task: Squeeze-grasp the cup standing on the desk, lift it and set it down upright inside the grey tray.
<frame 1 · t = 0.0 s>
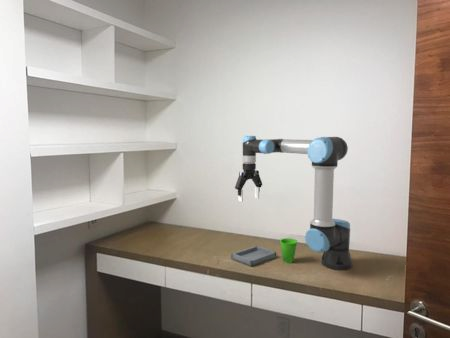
hand: (248, 199, 206), 28 cm above the worktop, fingers open, 13 cm apart
cup: (288, 261, 186), on the worktop
grey tray: (253, 258, 191), on the worktop
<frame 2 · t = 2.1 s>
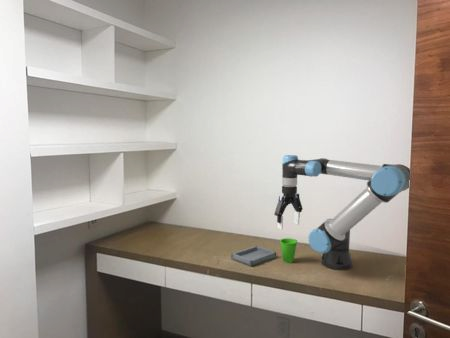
hand: (288, 226, 184), 19 cm above the worktop, fingers open, 13 cm apart
nothing on the worktop moved.
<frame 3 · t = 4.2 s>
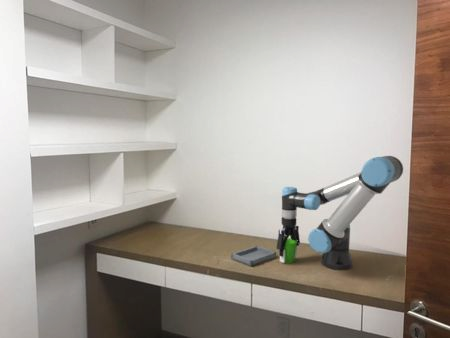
hand: (288, 259, 186), 1 cm above the worktop, fingers closed on cup, 9 cm apart
cup: (288, 261, 186), on the worktop, touching gripper
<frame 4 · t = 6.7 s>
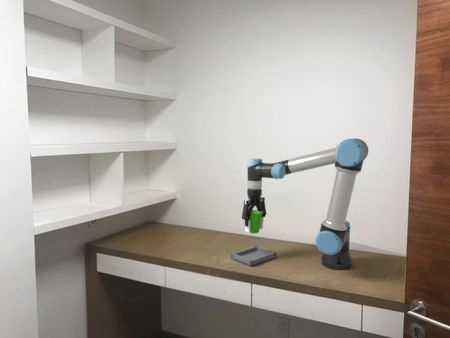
hand: (254, 230, 189), 15 cm above the worktop, fingers closed on cup, 9 cm apart
cup: (254, 232, 189), point 14 cm above the worktop, touching gripper
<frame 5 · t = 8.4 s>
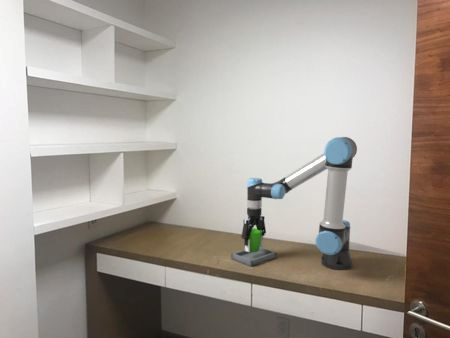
hand: (253, 249, 190), 5 cm above the worktop, fingers closed on cup, 9 cm apart
cup: (253, 251, 190), point 4 cm above the worktop, touching gripper
when the fingers open (3 cm above the worktop, at t = 9.4 s): cup stays where it is, resting on grey tray.
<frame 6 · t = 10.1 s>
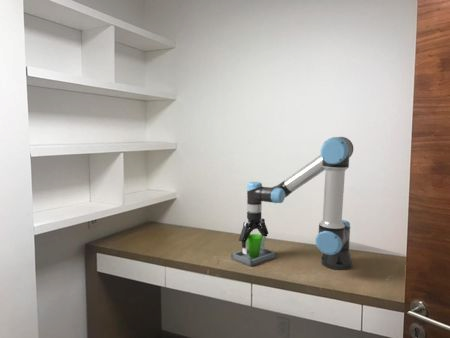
hand: (253, 250, 190), 4 cm above the worktop, fingers open, 13 cm apart
cup: (254, 256, 191), point 1 cm above the worktop, touching grey tray
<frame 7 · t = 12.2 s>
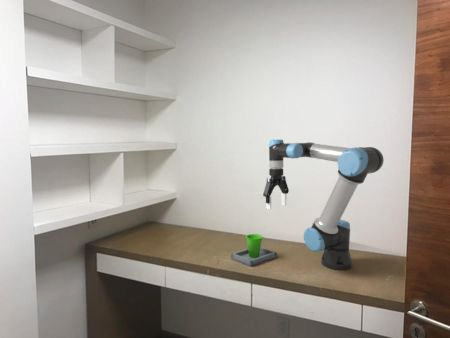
hand: (276, 207, 195), 26 cm above the worktop, fingers open, 13 cm apart
nothing on the worktop moved.
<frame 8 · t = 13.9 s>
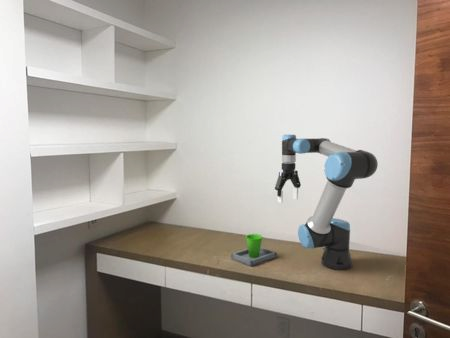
hand: (287, 200, 200), 29 cm above the worktop, fingers open, 13 cm apart
nothing on the worktop moved.
at the end: cup inside the target area on the grey tray (0.1 cm from its centre), point 0.8 cm above the grey tray's base; cup tilted 0°; the gripper is holding nothing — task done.
